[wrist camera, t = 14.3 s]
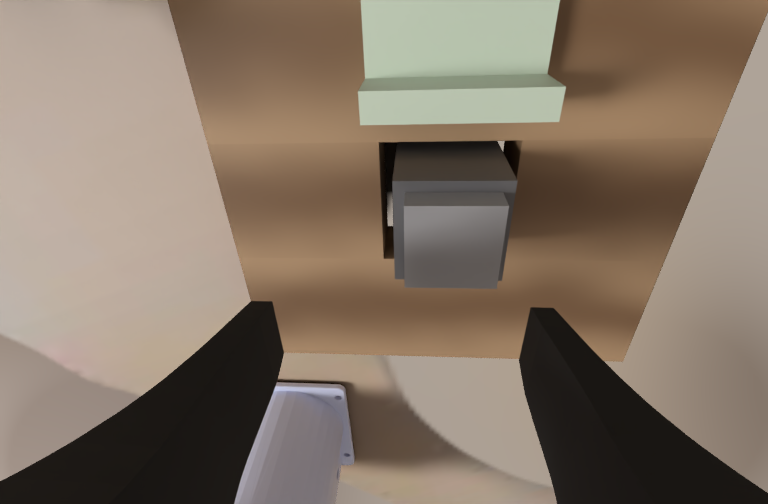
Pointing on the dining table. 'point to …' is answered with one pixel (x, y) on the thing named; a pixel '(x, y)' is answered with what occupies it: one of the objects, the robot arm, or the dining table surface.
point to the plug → (451, 213)
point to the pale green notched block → (458, 62)
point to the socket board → (521, 148)
